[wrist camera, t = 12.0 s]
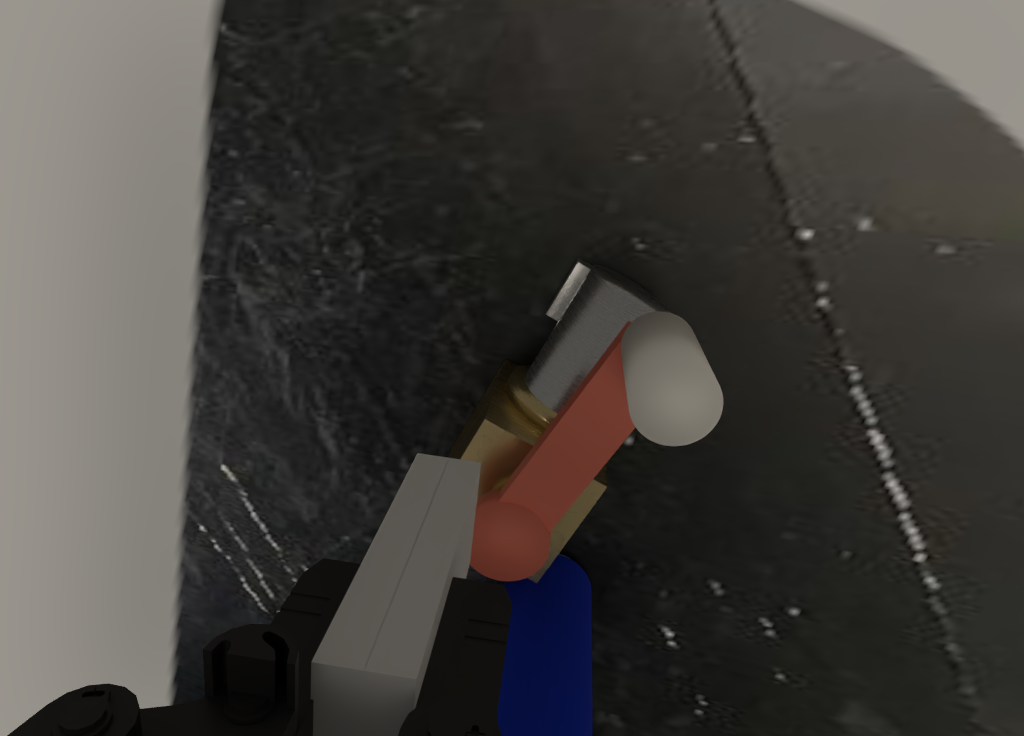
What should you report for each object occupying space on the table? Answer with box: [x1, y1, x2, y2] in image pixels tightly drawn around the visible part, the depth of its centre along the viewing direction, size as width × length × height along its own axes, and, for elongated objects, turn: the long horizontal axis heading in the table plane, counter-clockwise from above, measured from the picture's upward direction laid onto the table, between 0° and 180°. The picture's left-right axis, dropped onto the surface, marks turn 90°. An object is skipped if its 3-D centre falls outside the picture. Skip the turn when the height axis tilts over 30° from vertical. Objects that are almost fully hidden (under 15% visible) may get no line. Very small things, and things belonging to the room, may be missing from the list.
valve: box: [448, 257, 669, 583], centre depth 32 cm, size 20×6×9 cm, turn 151°
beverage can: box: [497, 554, 593, 736], centre depth 33 cm, size 5×5×15 cm
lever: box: [470, 311, 723, 581], centre depth 23 cm, size 13×4×6 cm, turn 147°
